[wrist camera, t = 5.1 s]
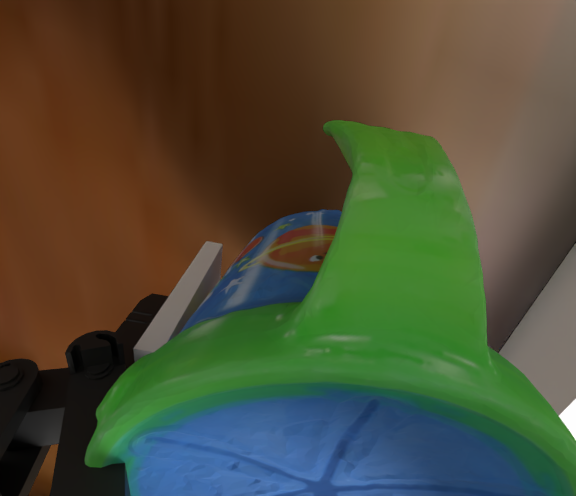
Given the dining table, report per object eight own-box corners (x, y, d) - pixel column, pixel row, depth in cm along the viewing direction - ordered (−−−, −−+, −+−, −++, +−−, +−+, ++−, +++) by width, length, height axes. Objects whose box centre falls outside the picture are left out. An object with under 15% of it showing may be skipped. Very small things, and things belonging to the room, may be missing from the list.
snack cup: (360, 398, 20) (399, 664, 11) (195, 357, 19) (89, 603, 10) (506, 151, 12) (1022, 338, 3) (245, 72, 12) (22, 40, 3)
